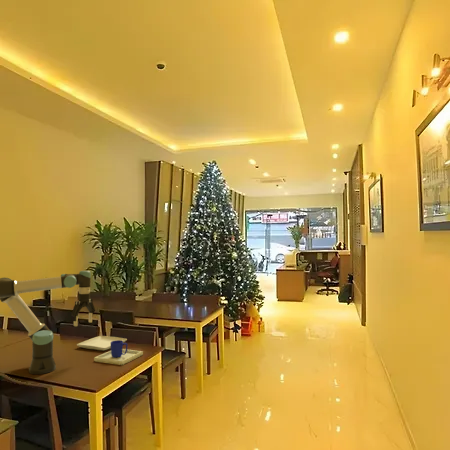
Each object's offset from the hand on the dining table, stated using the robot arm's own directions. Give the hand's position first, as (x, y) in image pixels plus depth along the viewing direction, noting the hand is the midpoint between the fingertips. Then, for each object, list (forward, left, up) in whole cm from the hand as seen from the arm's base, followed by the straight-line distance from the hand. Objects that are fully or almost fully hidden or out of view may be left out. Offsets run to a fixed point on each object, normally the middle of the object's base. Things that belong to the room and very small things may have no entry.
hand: (83, 324), depth 256 cm
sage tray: (+10, -23, -24) cm, 34 cm away
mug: (+10, -23, -23) cm, 34 cm away
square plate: (+31, +9, -24) cm, 40 cm away
